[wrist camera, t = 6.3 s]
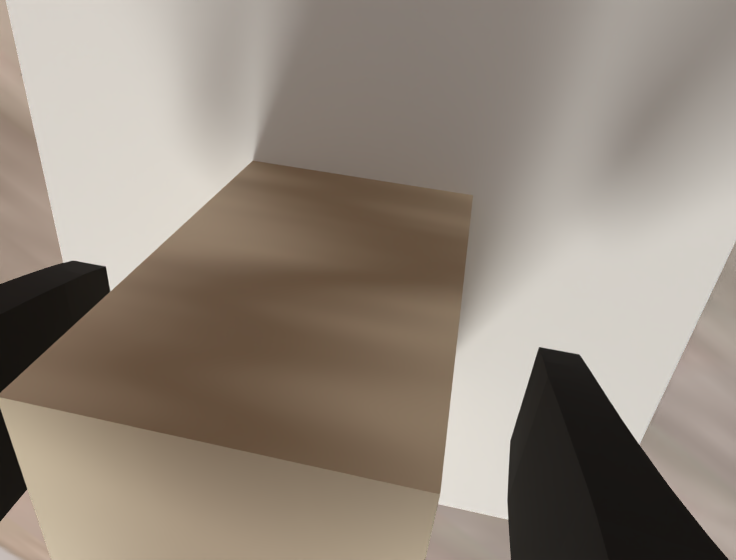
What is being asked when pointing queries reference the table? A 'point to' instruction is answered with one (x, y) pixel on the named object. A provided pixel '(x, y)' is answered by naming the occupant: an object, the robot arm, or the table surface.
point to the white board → (425, 161)
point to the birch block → (257, 381)
